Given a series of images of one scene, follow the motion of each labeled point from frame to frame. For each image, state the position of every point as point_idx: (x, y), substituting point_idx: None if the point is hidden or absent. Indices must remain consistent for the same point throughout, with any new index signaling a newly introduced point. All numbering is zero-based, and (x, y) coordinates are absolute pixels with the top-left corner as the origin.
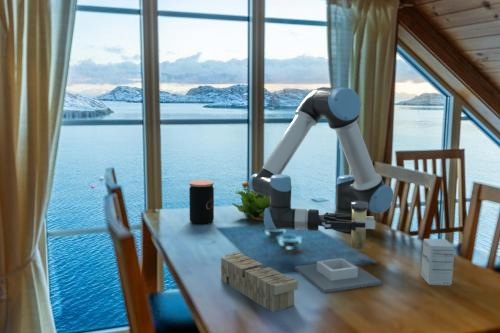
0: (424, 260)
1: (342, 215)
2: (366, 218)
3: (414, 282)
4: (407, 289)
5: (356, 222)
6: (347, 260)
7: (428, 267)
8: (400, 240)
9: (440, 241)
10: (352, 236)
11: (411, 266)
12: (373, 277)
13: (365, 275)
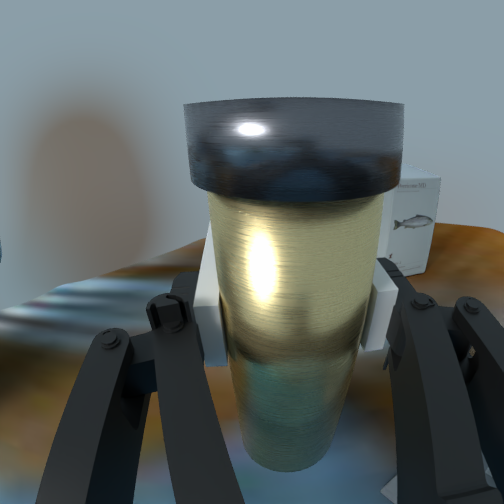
0: (406, 233)
1: (166, 444)
2: None
3: (431, 291)
4: (479, 298)
5: (394, 301)
6: (396, 482)
7: (427, 236)
8: (66, 312)
9: None
10: (328, 426)
11: None
12: None
13: None
